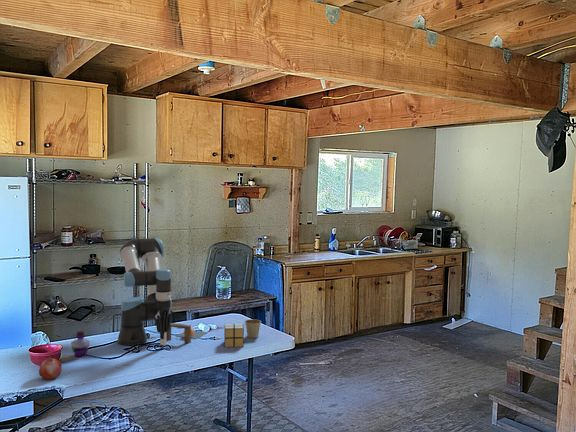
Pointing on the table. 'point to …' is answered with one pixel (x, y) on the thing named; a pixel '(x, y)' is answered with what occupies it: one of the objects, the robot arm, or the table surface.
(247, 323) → the flower pot
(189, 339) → the bridge
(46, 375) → the fruit
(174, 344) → the table surface
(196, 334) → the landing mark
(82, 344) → the potion bottle
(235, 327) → the puzzle cube
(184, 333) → the ball
